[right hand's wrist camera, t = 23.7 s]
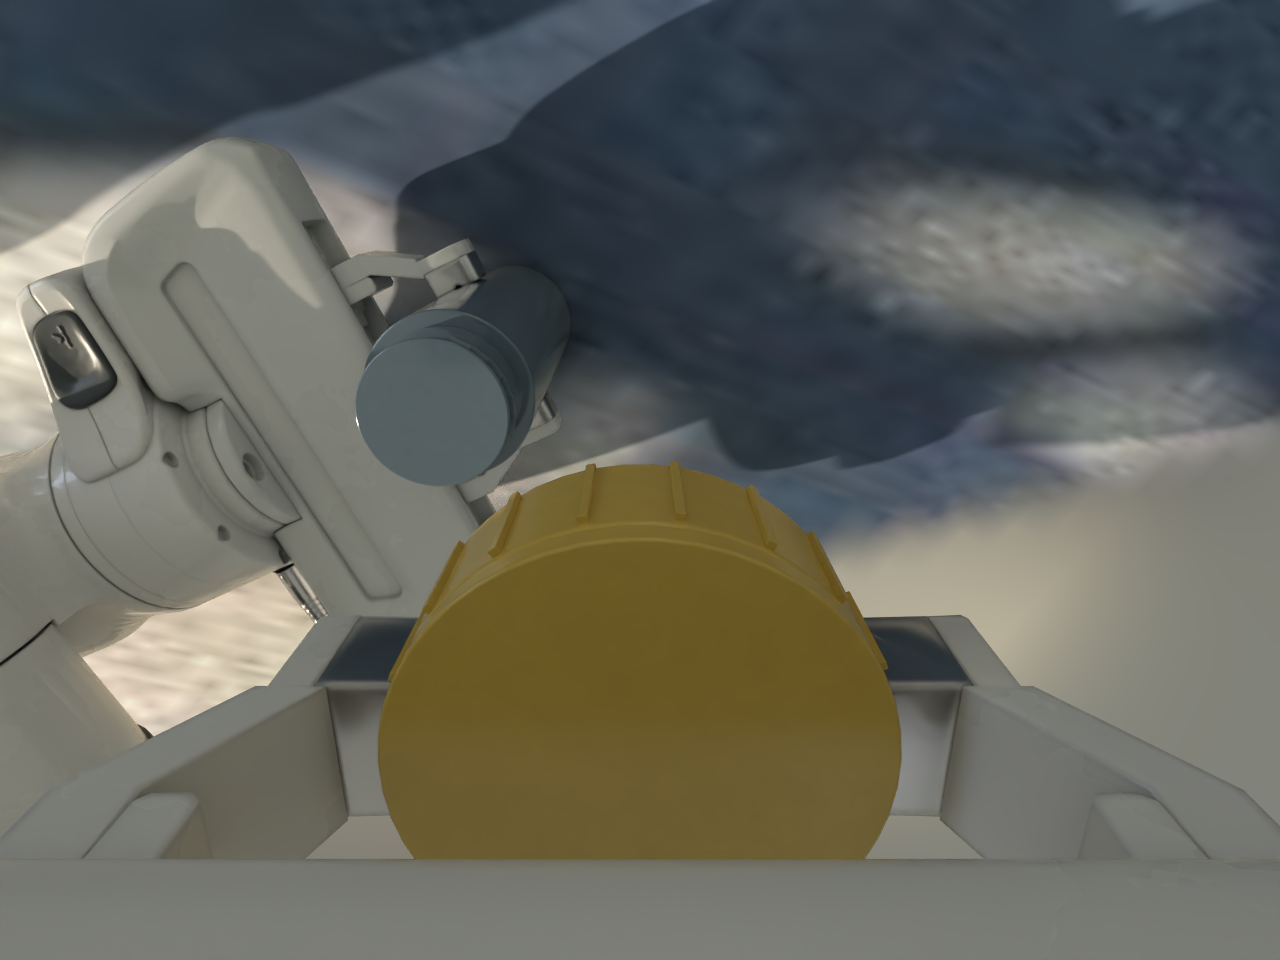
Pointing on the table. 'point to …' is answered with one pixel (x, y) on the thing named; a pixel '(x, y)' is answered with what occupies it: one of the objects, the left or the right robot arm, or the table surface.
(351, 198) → the table surface
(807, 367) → the table surface
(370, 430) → the jar
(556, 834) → the lid
